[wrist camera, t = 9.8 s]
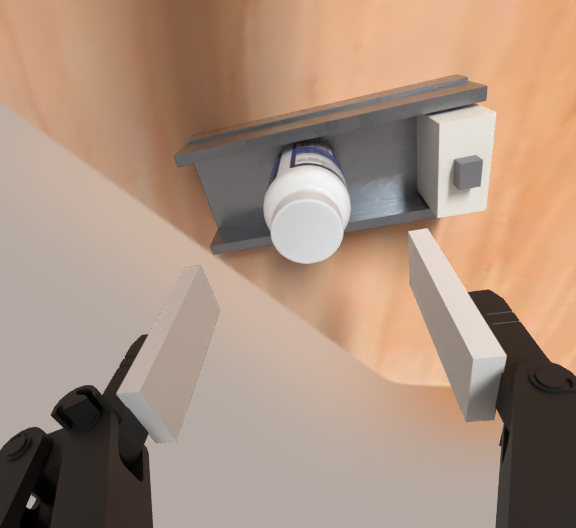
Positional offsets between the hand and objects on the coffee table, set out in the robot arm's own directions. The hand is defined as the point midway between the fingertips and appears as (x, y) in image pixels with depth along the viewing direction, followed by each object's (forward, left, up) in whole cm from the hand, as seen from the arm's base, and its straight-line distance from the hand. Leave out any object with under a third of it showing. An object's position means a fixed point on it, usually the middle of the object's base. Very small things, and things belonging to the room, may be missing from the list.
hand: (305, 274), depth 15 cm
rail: (0, +1, -15) cm, 16 cm away
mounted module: (0, +10, -13) cm, 17 cm away
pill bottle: (0, 0, -14) cm, 14 cm away
